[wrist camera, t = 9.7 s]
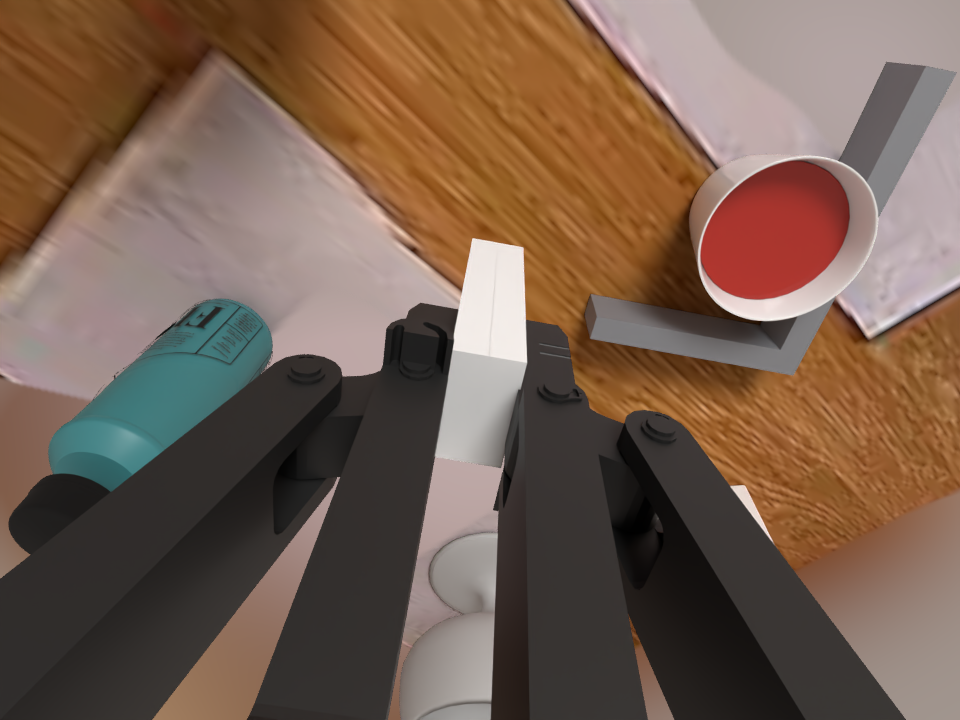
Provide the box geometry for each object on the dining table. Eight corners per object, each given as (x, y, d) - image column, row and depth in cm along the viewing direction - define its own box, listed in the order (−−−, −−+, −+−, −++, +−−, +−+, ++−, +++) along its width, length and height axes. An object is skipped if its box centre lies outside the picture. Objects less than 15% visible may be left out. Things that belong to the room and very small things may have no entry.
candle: (766, 296, 38) (808, 341, 33) (645, 252, 37) (667, 291, 32) (853, 166, 34) (918, 193, 29) (718, 111, 33) (758, 129, 27)
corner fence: (673, 18, 31) (690, 17, 28) (914, 67, 31) (956, 72, 28) (584, 314, 40) (590, 338, 37) (772, 349, 40) (793, 375, 37)
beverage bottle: (248, 272, 40) (43, 463, 22) (302, 349, 42) (157, 571, 25) (176, 306, 41) (-68, 509, 24) (232, 378, 44) (51, 604, 27)
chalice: (390, 574, 55) (351, 743, 42) (488, 497, 49) (479, 666, 36) (497, 639, 59) (492, 812, 46) (599, 575, 53) (626, 752, 40)
